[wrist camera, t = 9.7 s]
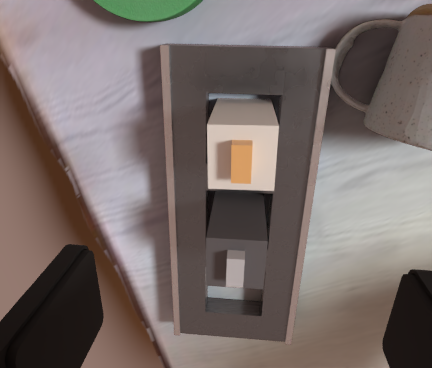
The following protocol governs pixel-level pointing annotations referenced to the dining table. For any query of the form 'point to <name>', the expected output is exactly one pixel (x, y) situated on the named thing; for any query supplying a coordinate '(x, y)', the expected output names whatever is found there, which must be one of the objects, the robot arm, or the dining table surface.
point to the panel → (280, 198)
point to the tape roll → (148, 8)
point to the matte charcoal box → (236, 241)
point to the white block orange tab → (242, 144)
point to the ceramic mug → (398, 80)
